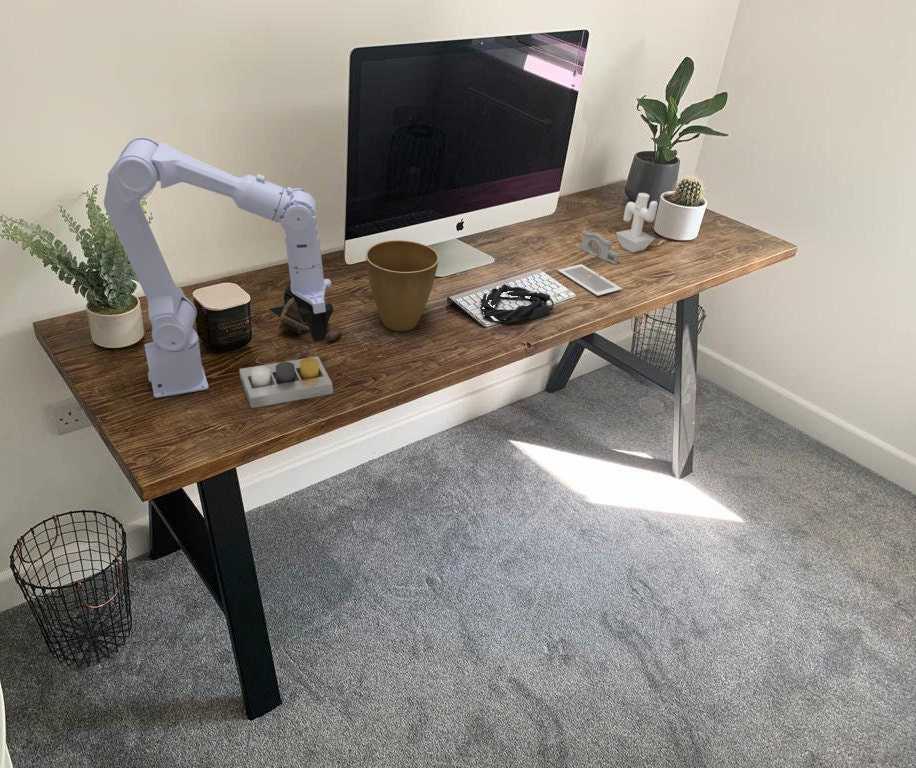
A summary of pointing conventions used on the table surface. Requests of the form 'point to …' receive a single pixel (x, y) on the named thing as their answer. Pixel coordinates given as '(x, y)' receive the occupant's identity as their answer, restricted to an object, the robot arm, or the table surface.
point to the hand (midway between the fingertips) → (313, 330)
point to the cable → (520, 312)
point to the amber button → (309, 368)
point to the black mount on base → (279, 308)
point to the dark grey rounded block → (285, 372)
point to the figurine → (637, 224)
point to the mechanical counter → (295, 323)
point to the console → (286, 386)
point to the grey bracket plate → (603, 247)
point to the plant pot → (401, 281)
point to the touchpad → (589, 279)
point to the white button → (260, 376)
